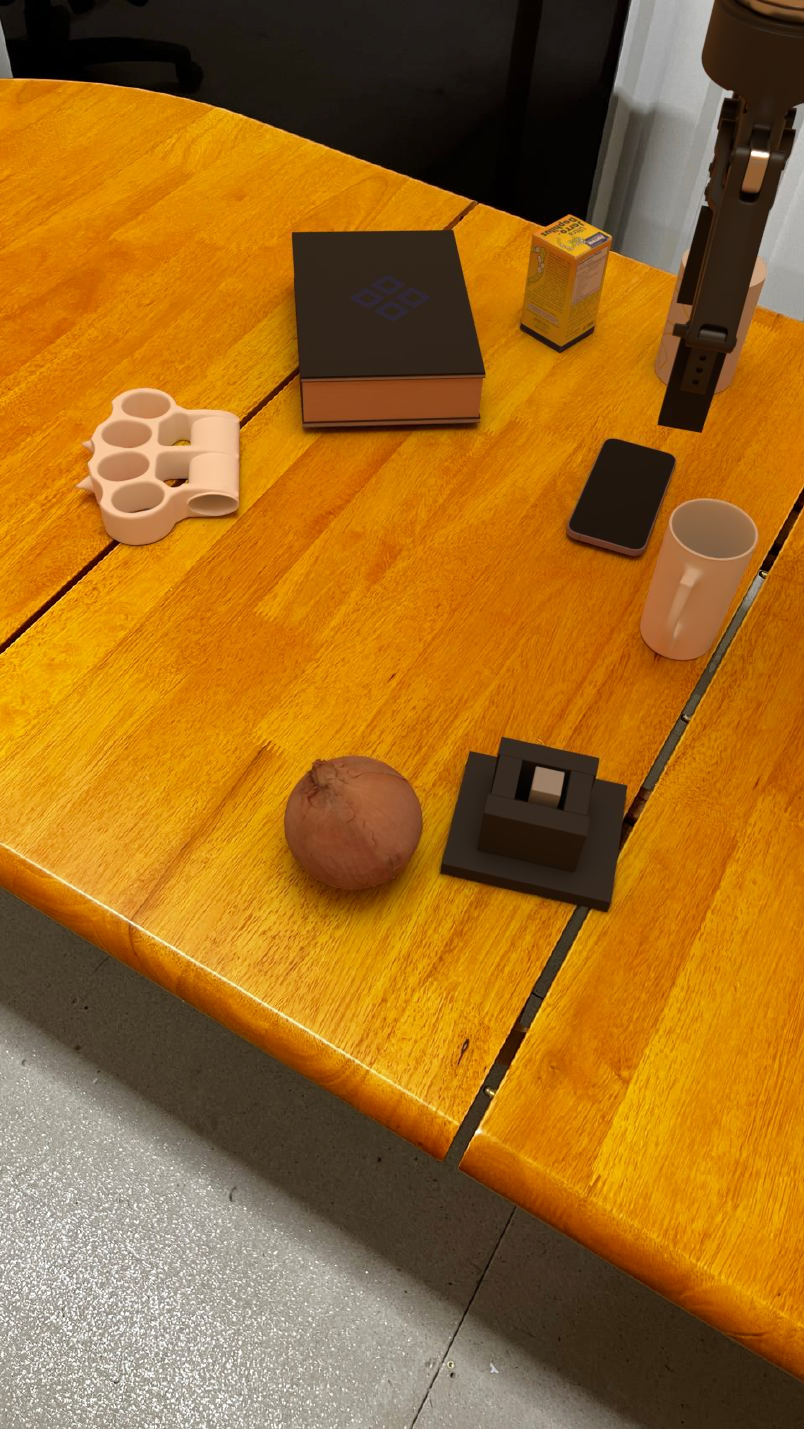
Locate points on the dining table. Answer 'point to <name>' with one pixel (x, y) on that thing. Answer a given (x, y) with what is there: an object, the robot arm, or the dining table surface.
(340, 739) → the dining table surface
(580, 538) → the smartphone
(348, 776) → the onion
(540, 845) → the black hollow block
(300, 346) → the book
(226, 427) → the knuckle duster
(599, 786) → the base pad
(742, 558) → the mug
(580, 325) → the supplement box
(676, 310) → the beige cylinder
